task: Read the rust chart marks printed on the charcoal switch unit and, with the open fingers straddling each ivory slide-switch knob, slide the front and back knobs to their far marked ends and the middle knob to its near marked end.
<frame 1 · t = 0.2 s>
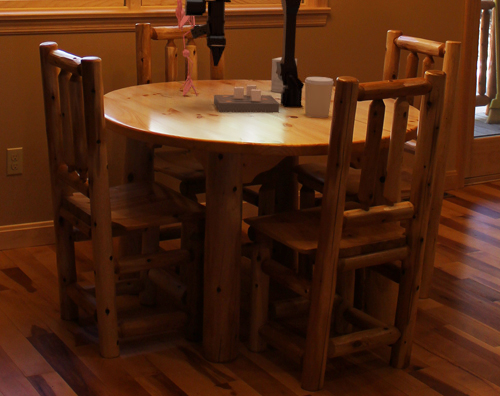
hand: (215, 64, 238), 14 cm above the table, fingers open, 9 cm apart
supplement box: (283, 92, 274), on the table
figurine: (178, 93, 261), on the table
slider 1: (251, 90, 243), point 5 cm above the table, slide at -2.5 cm
slider 3: (255, 95, 235), point 5 cm above the table, slide at -2.5 cm
coffee cup: (316, 115, 233), on the table
switch unit: (245, 107, 240), on the table
slider 2: (238, 92, 238), point 5 cm above the table, slide at 2.5 cm
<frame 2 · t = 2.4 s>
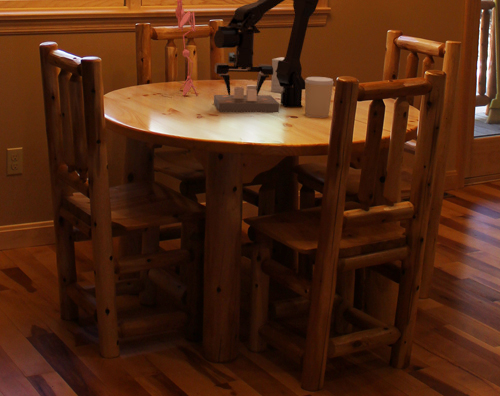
hand: (242, 95, 234), 5 cm above the table, fingers open, 9 cm apart
slider 3: (251, 95, 235), point 5 cm above the table, slide at -1.1 cm, touching gripper
everything else where it was.
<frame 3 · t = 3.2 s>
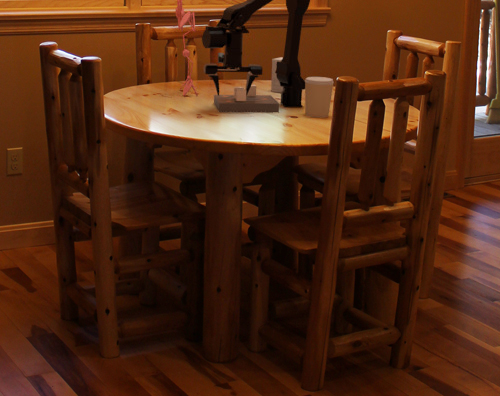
hand: (232, 95, 233), 5 cm above the table, fingers open, 9 cm apart
slider 3: (241, 95, 234), point 5 cm above the table, slide at 2.5 cm, touching gripper
everything else where it was.
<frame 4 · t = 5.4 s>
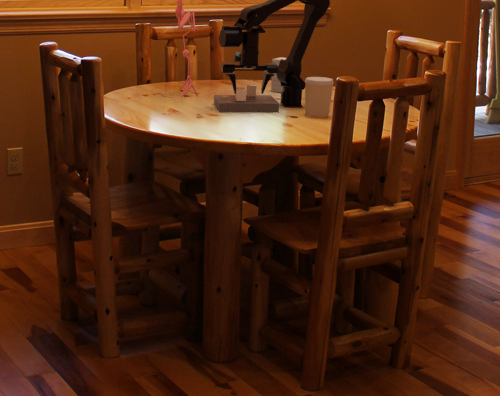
hand: (248, 93, 239), 5 cm above the table, fingers open, 9 cm apart
slider 3: (240, 95, 234), point 5 cm above the table, slide at 2.5 cm
slider 2: (240, 92, 238), point 5 cm above the table, slide at 2.1 cm, touching gripper
everything else where it was.
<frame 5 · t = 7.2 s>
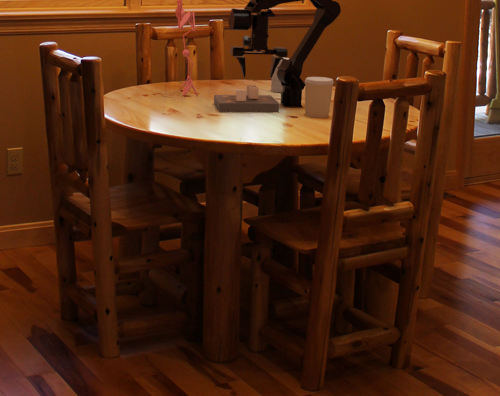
hand: (257, 77, 239), 10 cm above the table, fingers open, 9 cm apart
slider 2: (253, 92, 239), point 5 cm above the table, slide at -2.5 cm
everything else where it was.
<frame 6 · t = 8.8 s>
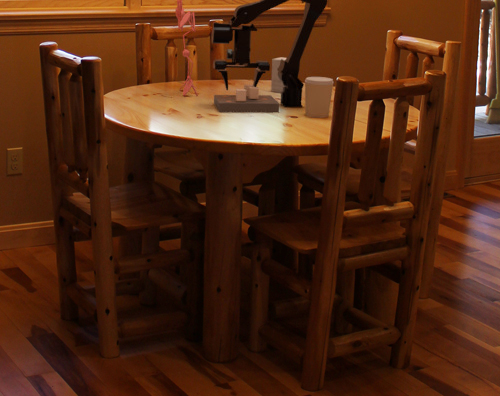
hand: (240, 90, 243), 5 cm above the table, fingers open, 9 cm apart
slider 1: (248, 90, 243), point 5 cm above the table, slide at -1.6 cm, touching gripper
everything else where it was.
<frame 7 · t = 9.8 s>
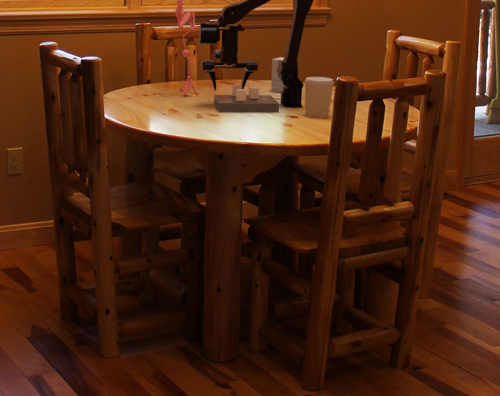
hand: (228, 90, 242), 5 cm above the table, fingers open, 9 cm apart
slider 1: (237, 90, 242), point 5 cm above the table, slide at 2.5 cm, touching gripper
everything else where it was.
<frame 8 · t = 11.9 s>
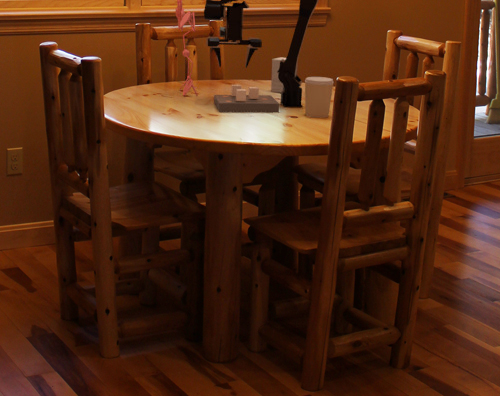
hand: (233, 67, 247), 12 cm above the table, fingers open, 9 cm apart
slider 1: (236, 90, 242), point 5 cm above the table, slide at 2.7 cm
everything else where it was.
at the end: slider 1 slide at 2.7 cm; slider 2 slide at -2.5 cm; slider 3 slide at 2.5 cm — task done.
